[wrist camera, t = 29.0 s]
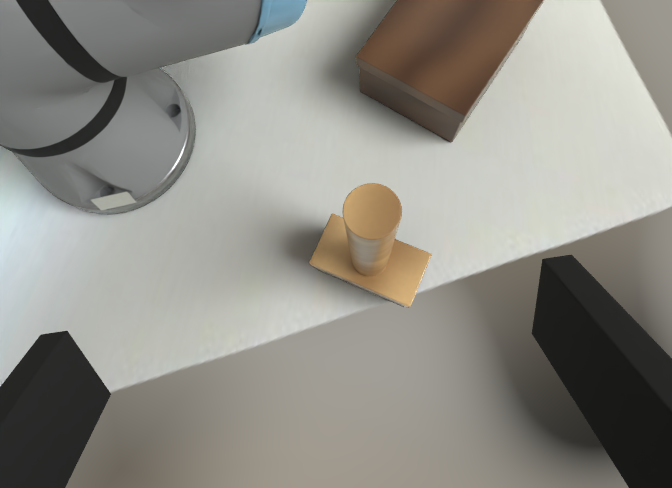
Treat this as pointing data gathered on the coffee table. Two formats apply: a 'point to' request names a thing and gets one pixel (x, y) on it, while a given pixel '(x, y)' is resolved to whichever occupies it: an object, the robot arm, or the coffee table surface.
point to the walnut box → (441, 57)
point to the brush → (371, 246)
